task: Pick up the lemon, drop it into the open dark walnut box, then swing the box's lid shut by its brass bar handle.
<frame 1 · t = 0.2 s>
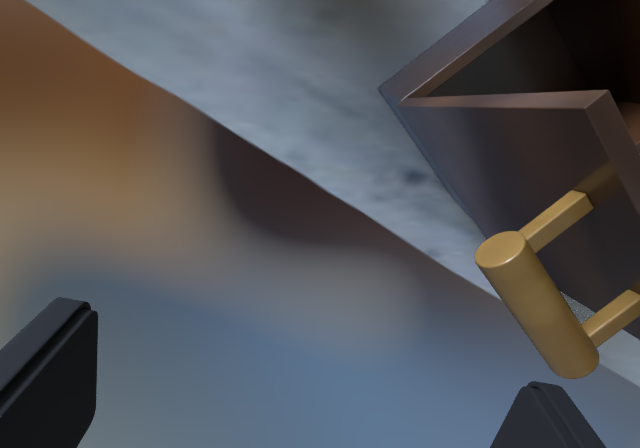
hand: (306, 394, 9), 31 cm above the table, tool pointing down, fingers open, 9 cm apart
lid: (490, 233, 21), point 19 cm above the table, hinge at 80.0°
chest: (488, 93, 37), on the table
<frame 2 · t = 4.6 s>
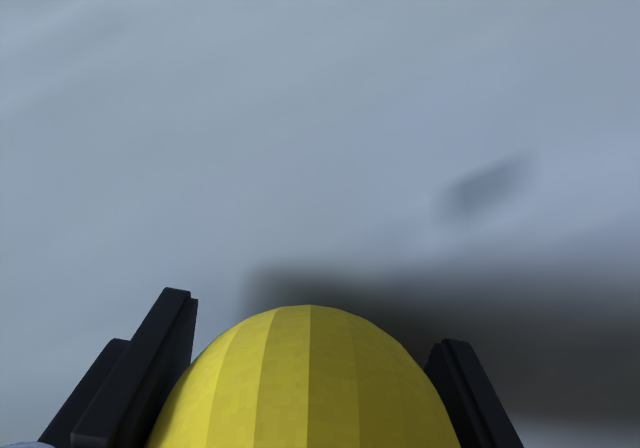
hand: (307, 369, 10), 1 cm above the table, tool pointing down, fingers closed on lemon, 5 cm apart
lemon: (308, 333, 11), on the table, touching gripper
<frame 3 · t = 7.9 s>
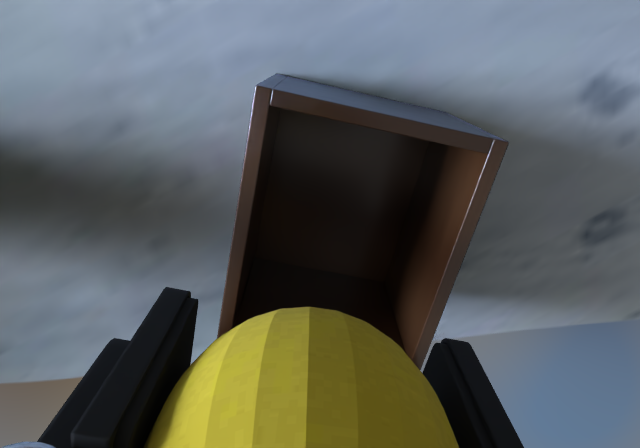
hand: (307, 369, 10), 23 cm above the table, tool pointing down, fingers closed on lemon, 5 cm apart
lemon: (307, 335, 11), point 22 cm above the table, touching gripper
chest: (338, 190, 33), on the table
when the fingers open (10 cm above the table, at t = 11.3 s): lemon drops 8 cm, resting on chest.
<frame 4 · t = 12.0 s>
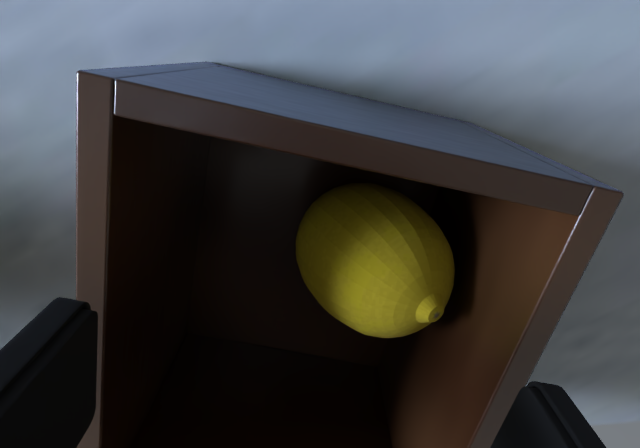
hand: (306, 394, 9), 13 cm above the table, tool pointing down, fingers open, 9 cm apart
lemon: (319, 212, 20), point 1 cm above the table, touching chest
chest: (308, 238, 22), on the table
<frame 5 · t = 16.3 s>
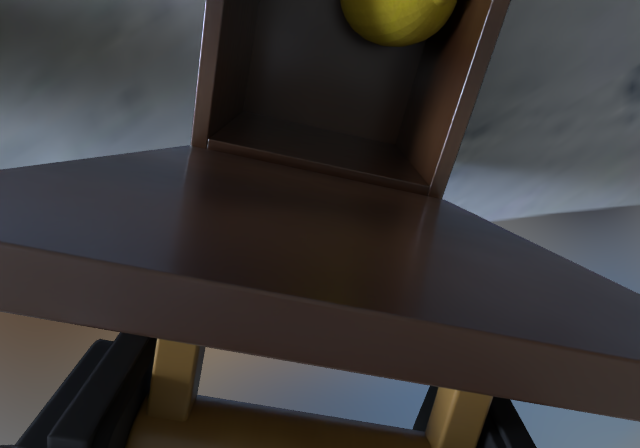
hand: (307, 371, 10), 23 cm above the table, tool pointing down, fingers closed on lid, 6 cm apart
lid: (313, 278, 13), point 19 cm above the table, hinge at 80.0°, touching gripper
chest: (342, 26, 28), on the table
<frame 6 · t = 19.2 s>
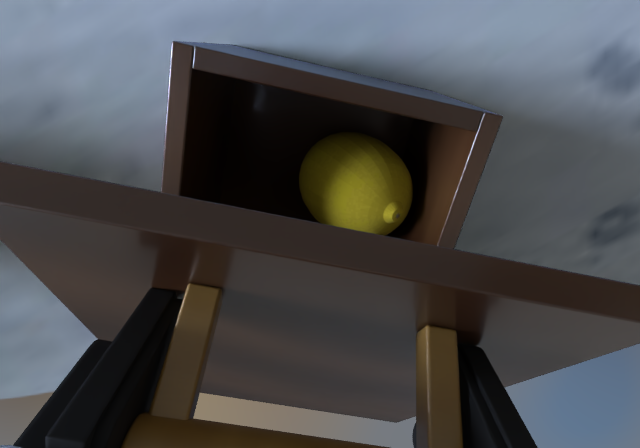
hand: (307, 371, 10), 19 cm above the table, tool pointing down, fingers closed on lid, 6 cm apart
lemon: (316, 160, 26), point 1 cm above the table, touching chest
lid: (283, 425, 13), point 18 cm above the table, hinge at 35.9°, touching gripper
chest: (308, 184, 28), on the table
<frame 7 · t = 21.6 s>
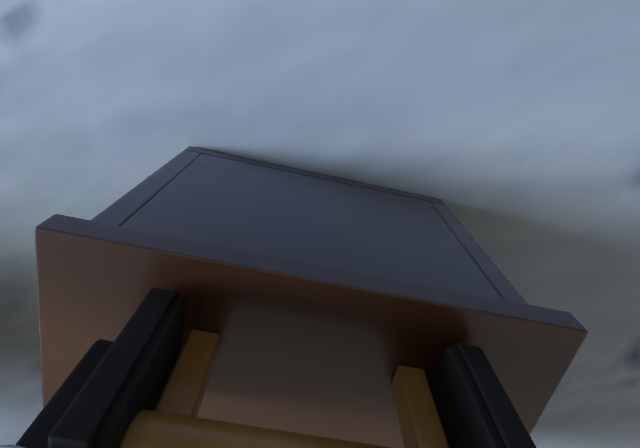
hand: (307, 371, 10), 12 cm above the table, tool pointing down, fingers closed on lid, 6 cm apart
chest: (289, 301, 23), on the table
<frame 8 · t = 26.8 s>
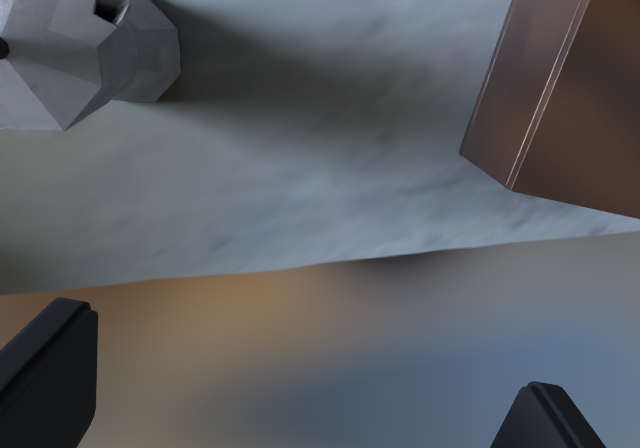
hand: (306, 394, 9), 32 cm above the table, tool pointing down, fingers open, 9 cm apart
coffeepot: (120, 53, 37), on the table
chest: (553, 87, 38), on the table
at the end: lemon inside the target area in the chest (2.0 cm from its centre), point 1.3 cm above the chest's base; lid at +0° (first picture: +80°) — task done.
